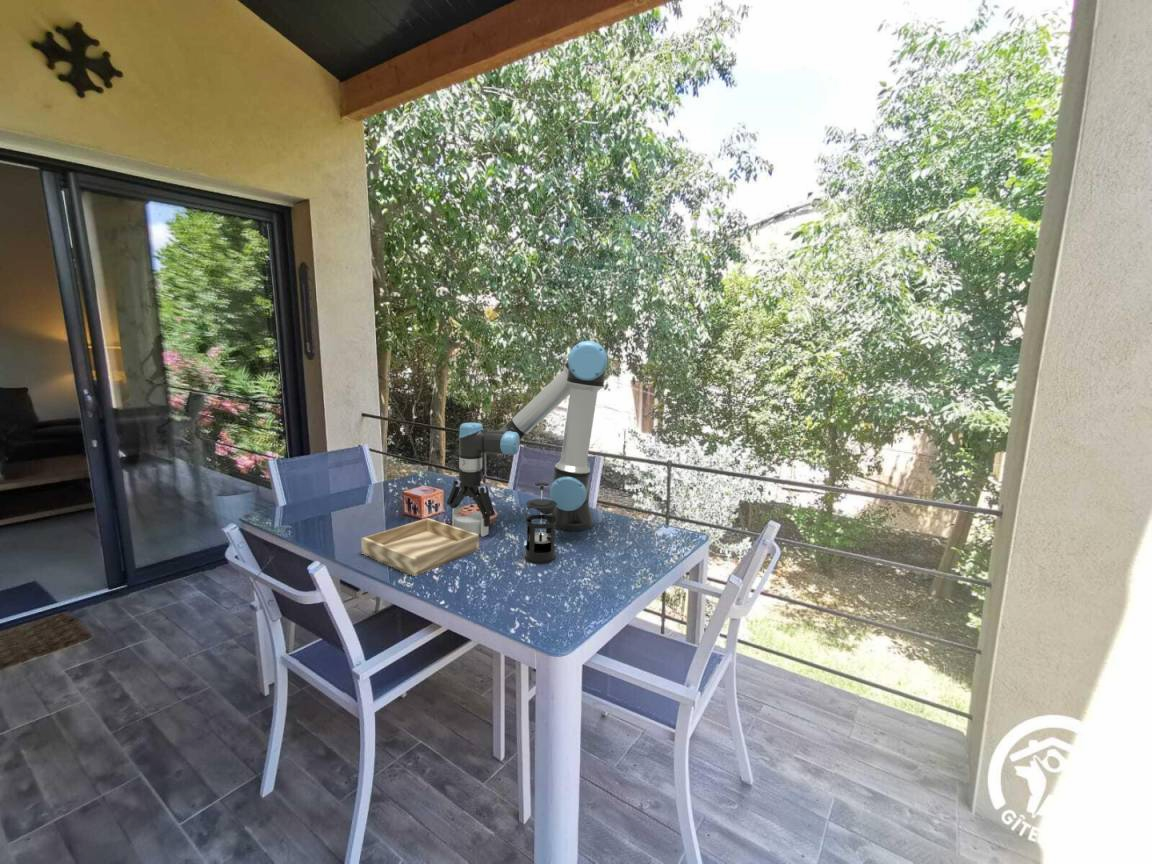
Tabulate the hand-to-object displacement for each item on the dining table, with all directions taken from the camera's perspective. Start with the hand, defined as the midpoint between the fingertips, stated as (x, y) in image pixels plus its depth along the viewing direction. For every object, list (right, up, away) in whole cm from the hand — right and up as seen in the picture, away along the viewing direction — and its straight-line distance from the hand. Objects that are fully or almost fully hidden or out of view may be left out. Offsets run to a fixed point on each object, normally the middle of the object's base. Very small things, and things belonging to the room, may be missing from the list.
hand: (470, 530), depth 172 cm
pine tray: (-11, -3, -19) cm, 22 cm away
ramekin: (0, 0, 0) cm, 1 cm away
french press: (+25, -4, -20) cm, 32 cm away
